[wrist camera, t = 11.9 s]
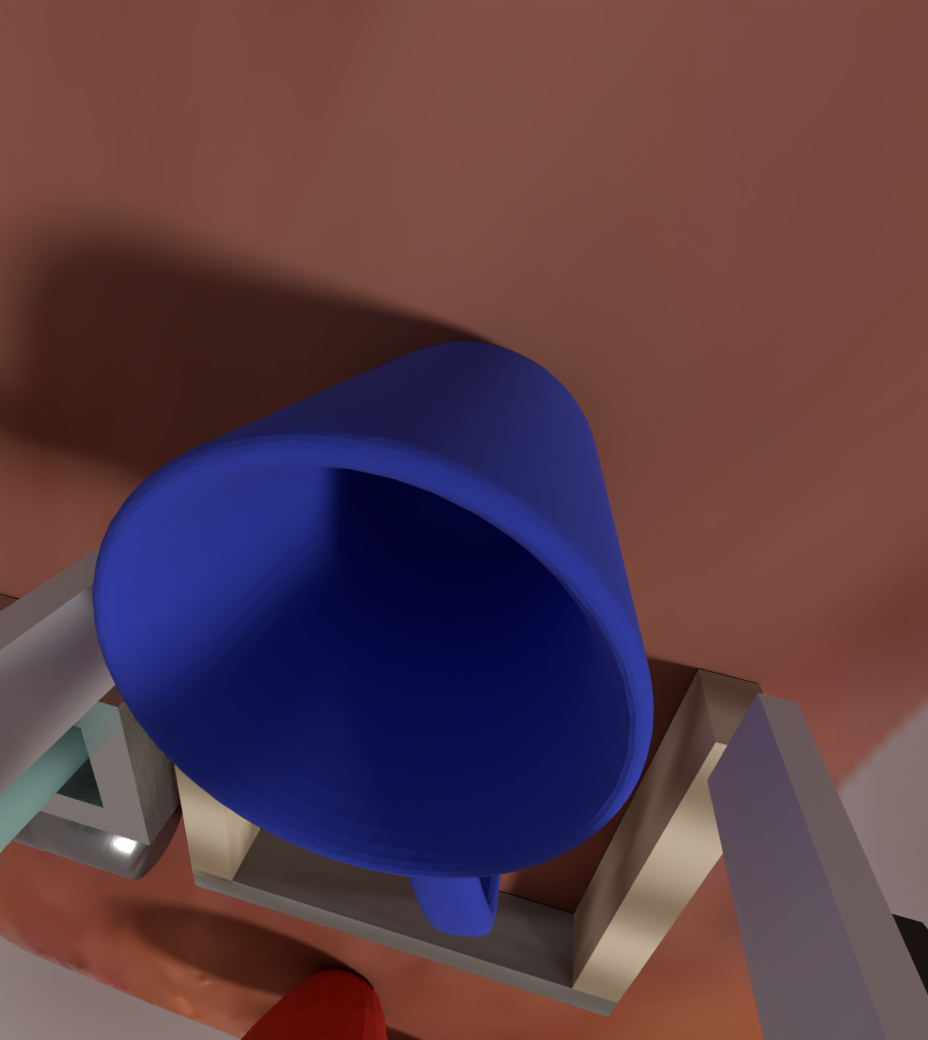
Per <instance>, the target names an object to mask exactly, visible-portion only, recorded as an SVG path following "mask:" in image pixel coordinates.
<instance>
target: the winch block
mask: <svg viewBox="0 0 928 1040" xmlns="http://www.w3.org/2000/svg"><path fill="white" fill-rule="evenodd" d="M17 600H19V599H16V598H12V597H8V596H5V595H1V594H0V611H2V610H3V609H5V608H6V607H8V606H10V605H11V604H13V603H14V602H16V601H17ZM73 726H76V727H79V728H81V731H82V734H83V738H84V741H85V745H86V748H87V751H88V755H89V758H88V759H87V760H86V761H85V762H84V763H83V765H82V766H81V767H80V768H79V769H78V770H77V771H76V772H75V773H74V774H73V775H72V776H71V777H70V778H69V779H68V781H67V782H66V783H65V784H64V785H63V786H62V787H61V788H60V789H59V790H58V791H57V792H56V793H55V794H54V796H53V797H52V798H51V799H50V800H49V801H48V802H47V803H46V804H45V805H44V806H43V807H42V808H41V809H40V811H39V812H38V813H37V814H36V815H35V816H34V817H33V818H32V819H31V820H30V821H29V822H28V823H27V824H26V826H25V827H24V828H23V829H22V830H21V831H20V832H19V833H18V834H17V835H16V836H15V837H14V838H13V839H12V841H15V842H18V843H21V844H24V845H27V846H30V847H33V848H36V849H39V850H43V851H46V852H49V853H52V854H55V855H58V856H61V857H64V858H67V859H70V860H74V861H77V862H80V863H83V864H86V865H89V866H92V867H95V868H98V869H101V870H105V871H108V872H111V873H114V874H117V875H120V876H123V877H126V878H129V879H132V880H137V879H139V878H141V877H143V876H144V875H146V874H147V873H148V872H149V871H150V870H151V869H152V868H153V867H154V866H155V865H156V863H157V862H158V861H159V859H160V858H161V856H162V855H163V854H164V852H165V850H166V849H167V847H168V845H169V844H170V842H171V840H172V838H173V836H174V834H175V831H176V829H177V827H178V824H179V821H180V818H181V815H182V806H181V800H180V794H179V788H178V783H177V777H176V771H175V765H174V763H173V762H172V761H171V760H170V759H169V758H168V757H167V756H166V755H165V754H164V753H163V752H162V751H161V750H160V749H159V748H158V747H157V746H156V745H155V743H154V742H153V741H152V740H151V738H150V737H149V736H148V735H147V733H146V732H145V731H144V730H143V728H142V727H141V726H140V724H139V723H138V722H137V720H136V719H135V717H134V716H133V714H132V713H131V711H130V710H129V708H128V706H127V705H126V703H125V702H124V700H123V699H122V697H121V695H120V694H119V692H118V690H117V687H116V685H114V686H113V687H112V688H111V689H110V690H109V691H108V692H107V693H106V694H105V695H104V696H103V697H102V698H101V699H100V700H99V701H98V702H97V703H96V704H95V705H93V706H92V707H91V708H90V709H89V710H88V711H87V712H86V713H85V714H84V715H83V716H82V717H81V718H80V719H79V720H78V721H77V722H76V723H75V724H74V725H73Z"/></svg>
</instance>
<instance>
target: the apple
mask: <svg viewBox="0 0 928 1040" xmlns="http://www.w3.org/2000/svg"><path fill="white" fill-rule="evenodd" d="M241 1040H387V1033H386V1025H385V1018H384V1015H383V1011H382V1008H381V1004H380V1001H379V998H378V996H377V994H376V993H375V992H374V990H373V989H372V988H371V986H370V985H369V984H367V983H366V982H365V981H364V980H363V979H361V978H360V977H358V976H356V975H355V974H353V973H351V972H348V971H346V970H343V969H335V968H333V969H328V970H323V971H320V972H317V973H315V974H313V975H312V976H310V977H308V978H307V979H305V980H304V981H302V982H301V983H300V984H298V985H297V986H295V987H294V988H293V989H292V990H290V991H289V992H288V993H287V994H286V995H285V996H284V997H283V998H282V999H281V1000H280V1001H279V1002H278V1003H277V1004H276V1005H274V1006H273V1007H272V1008H271V1009H270V1010H269V1011H268V1012H267V1013H266V1014H265V1015H264V1016H263V1017H262V1018H261V1019H260V1020H258V1021H257V1022H256V1023H255V1024H254V1025H253V1027H252V1028H251V1029H250V1030H249V1031H248V1032H247V1033H246V1035H245V1036H244V1037H243V1038H242V1039H241Z"/></svg>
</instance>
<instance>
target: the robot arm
mask: <svg viewBox="0 0 928 1040" xmlns="http://www.w3.org/2000/svg"><path fill="white" fill-rule="evenodd" d="M99 550H100V547H99V548H97V549H96V550H94V551H93V552H91V553H89V554H88V555H86V556H85V557H83V558H82V559H80V560H79V561H77V562H76V563H74V564H73V565H71V566H70V567H68V568H66V569H65V570H63V571H62V572H60V573H59V574H57V575H56V576H54V577H53V578H51V579H50V580H48V581H46V582H45V583H43V584H42V585H40V586H39V587H37V588H36V589H34V590H33V591H31V592H30V593H28V594H26V595H25V596H23V597H22V598H20V599H19V600H17V601H16V602H14V603H13V604H11V605H10V606H8V607H6V608H5V609H3V610H2V611H0V795H1V794H2V793H3V792H4V791H5V790H6V789H7V788H8V787H9V786H11V785H12V784H13V783H14V782H15V781H16V780H17V779H18V778H19V777H20V776H21V775H22V774H23V773H24V772H25V771H26V770H27V769H28V768H29V767H30V766H31V765H32V764H33V763H34V762H35V761H36V760H37V759H39V758H40V757H41V756H42V755H43V754H44V753H45V752H46V751H47V750H48V749H49V748H50V747H51V746H52V745H53V744H54V743H55V742H56V741H57V740H58V739H59V738H60V737H61V736H62V735H63V734H64V733H65V732H67V731H68V730H69V729H70V728H71V727H72V726H73V725H74V724H75V723H76V722H77V721H78V720H79V719H80V718H81V717H82V716H83V715H84V714H85V713H86V712H87V711H88V710H89V709H90V708H91V707H92V706H93V705H95V704H96V703H97V702H98V701H99V700H100V699H101V698H102V697H103V696H104V695H105V694H106V693H107V692H108V691H109V690H110V689H111V688H112V687H113V686H114V685H115V683H114V681H113V679H112V677H111V675H110V673H109V670H108V668H107V666H106V664H105V661H104V658H103V654H102V651H101V648H100V645H99V641H98V637H97V632H96V627H95V622H94V609H93V594H92V591H93V581H94V574H95V566H96V561H97V557H98V554H99ZM707 782H708V787H709V792H710V796H711V801H712V805H713V810H714V814H715V819H716V824H717V828H718V833H719V837H720V842H721V846H722V851H723V855H724V860H725V865H726V869H727V874H728V878H729V883H730V887H731V892H732V897H733V901H734V906H735V910H736V915H737V919H738V924H739V929H740V933H741V938H742V942H743V947H744V951H745V956H746V960H747V965H748V970H749V974H750V979H751V983H752V988H753V992H754V997H755V1002H756V1006H757V1011H758V1015H759V1020H760V1024H761V1029H762V1033H763V1038H764V1040H928V929H927V928H926V926H925V925H924V924H923V923H922V922H919V921H915V920H912V919H908V918H905V917H901V916H898V915H894V914H891V911H890V909H889V907H888V905H887V902H886V900H885V898H884V896H883V893H882V891H881V889H880V887H879V884H878V882H877V880H876V878H875V875H874V873H873V871H872V869H871V866H870V864H869V862H868V860H867V858H866V855H865V853H864V851H863V849H862V846H861V844H860V842H859V840H858V837H857V836H856V833H855V831H854V828H853V826H852V824H851V822H850V819H849V817H848V815H847V813H846V810H845V808H844V806H843V804H842V801H841V799H840V797H839V795H838V793H837V790H836V788H835V786H834V784H833V781H832V779H831V777H830V775H829V772H828V770H827V768H826V766H825V763H824V761H823V759H822V757H821V754H820V752H819V750H818V748H817V745H816V743H815V741H814V739H813V737H812V734H811V732H810V730H809V728H808V725H807V723H806V721H805V719H804V716H803V714H802V712H801V710H800V707H799V705H798V703H797V702H793V701H789V700H785V699H781V698H777V697H773V696H769V695H765V694H761V693H758V694H757V695H756V697H755V699H754V700H753V702H752V704H751V706H750V707H749V709H748V711H747V712H746V714H745V716H744V718H743V719H742V721H741V723H740V724H739V726H738V728H737V730H736V731H735V733H734V735H733V737H732V738H731V740H730V742H729V743H728V745H727V747H726V749H725V750H724V752H723V754H722V755H721V757H720V759H719V761H718V762H717V764H716V766H715V767H714V769H713V771H712V773H711V774H710V776H709V778H708V779H707Z"/></svg>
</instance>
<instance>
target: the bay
mask: <svg viewBox="0 0 928 1040" xmlns="http://www.w3.org/2000/svg"><path fill="white" fill-rule="evenodd" d="M758 693H761V694H763V692H762V690H761V687H760V685H759V684H755V683H751V682H748V681H744V680H740V679H736V678H732V677H728V676H724V675H720V674H716V673H712V672H708V671H704V670H700V669H698V671H697V673H696V675H695V677H694V679H693V681H692V683H691V685H690V687H689V689H688V691H687V693H686V695H685V697H684V699H683V701H682V703H681V705H680V707H679V709H678V711H677V713H676V715H675V716H674V718H673V720H672V722H671V724H670V726H669V728H668V730H667V732H666V734H665V736H664V738H663V740H662V742H661V744H660V746H659V748H658V750H657V752H656V754H655V756H654V758H653V760H652V762H651V764H650V766H649V768H648V770H647V772H646V774H645V775H644V777H643V779H642V781H641V783H640V785H639V787H638V789H637V791H636V793H635V795H634V797H633V799H632V801H631V803H630V805H629V807H628V809H627V811H626V813H625V815H624V817H623V819H622V821H621V823H620V825H619V827H618V829H617V831H616V832H615V834H614V836H613V838H612V840H611V842H610V844H609V846H608V848H607V850H606V852H605V854H604V856H603V858H602V860H601V862H600V864H599V866H598V868H597V870H596V872H595V874H594V876H593V878H592V880H591V882H590V884H589V886H588V888H587V890H586V891H585V893H584V895H583V897H582V899H581V901H580V903H579V905H578V907H577V909H576V911H575V913H574V914H572V913H568V912H565V911H562V910H558V909H555V908H552V907H549V906H545V905H542V904H539V903H535V902H532V901H529V900H526V899H522V898H519V897H516V896H512V895H509V894H506V893H502V892H499V891H498V901H497V909H496V915H495V920H494V925H493V927H492V929H491V931H489V932H488V933H487V934H486V935H483V936H479V937H469V936H459V935H449V934H446V933H444V932H441V931H438V930H436V929H435V928H434V927H433V926H431V924H430V923H429V921H428V920H427V918H426V917H425V915H424V914H423V912H422V910H421V908H420V906H419V904H418V901H417V899H416V896H415V894H414V891H413V889H412V886H411V883H410V881H409V878H408V876H401V875H395V874H390V873H384V872H378V871H373V870H369V869H364V868H360V867H357V866H353V865H350V864H346V863H343V862H339V861H336V860H333V859H330V858H327V857H324V856H322V855H319V854H316V853H314V852H311V851H309V850H306V849H303V848H301V847H298V846H296V845H293V844H291V843H289V842H287V841H285V840H283V839H281V838H279V837H277V836H275V835H273V834H271V833H269V832H267V831H265V830H263V829H261V828H259V827H258V826H256V825H254V824H252V823H251V822H249V821H247V820H245V819H244V818H242V817H241V816H239V815H238V814H236V813H235V812H233V811H232V810H230V809H229V808H227V807H226V806H224V805H223V804H221V803H220V802H218V801H217V800H216V799H214V798H213V797H212V796H211V795H209V794H208V793H207V792H205V791H204V790H203V789H202V788H200V787H199V786H198V785H197V784H195V783H194V782H193V781H192V780H191V779H190V778H188V777H187V776H186V775H185V774H184V773H183V772H182V771H181V770H180V769H179V768H178V767H177V766H176V765H175V764H174V765H175V771H176V777H177V783H178V788H179V794H180V800H181V806H182V812H183V818H184V823H185V829H186V835H187V841H188V847H189V853H190V858H191V864H192V870H193V876H194V882H195V885H197V886H200V887H203V888H206V889H209V890H213V891H216V892H219V893H222V894H225V895H228V896H231V897H234V898H238V899H241V900H244V901H247V902H250V903H253V904H256V905H259V906H263V907H266V908H269V909H272V910H275V911H278V912H281V913H284V914H288V915H291V916H294V917H297V918H300V919H303V920H306V921H309V922H313V923H316V924H319V925H322V926H325V927H328V928H331V929H334V930H338V931H341V932H344V933H347V934H350V935H353V936H356V937H359V938H363V939H366V940H369V941H372V942H375V943H378V944H381V945H384V946H388V947H391V948H394V949H397V950H400V951H403V952H406V953H410V954H413V955H416V956H419V957H422V958H425V959H428V960H431V961H435V962H438V963H441V964H444V965H447V966H450V967H453V968H456V969H460V970H463V971H466V972H469V973H472V974H475V975H478V976H481V977H485V978H488V979H491V980H494V981H497V982H500V983H503V984H506V985H510V986H513V987H516V988H519V989H522V990H525V991H528V992H531V993H535V994H538V995H541V996H544V997H547V998H550V999H553V1000H556V1001H560V1002H563V1003H566V1004H569V1005H572V1006H575V1007H578V1008H581V1009H585V1010H588V1011H591V1012H594V1013H597V1014H600V1015H603V1016H606V1017H608V1016H609V1015H610V1013H611V1012H612V1010H613V1009H614V1007H615V1006H616V1005H617V1003H618V1002H619V1000H620V999H621V997H622V996H623V995H624V993H625V992H626V990H627V989H628V987H629V986H630V985H631V983H632V982H633V980H634V979H635V977H636V976H637V975H638V973H639V972H640V970H641V969H642V967H643V966H644V965H645V963H646V962H647V960H648V959H649V958H650V956H651V955H652V953H653V952H654V950H655V949H656V948H657V946H658V945H659V943H660V942H661V940H662V939H663V938H664V936H665V935H666V933H667V932H668V930H669V929H670V928H671V926H672V925H673V923H674V922H675V920H676V919H677V918H678V916H679V915H680V913H681V912H682V910H683V909H684V908H685V906H686V905H687V903H688V902H689V900H690V899H691V898H692V896H693V895H694V893H695V892H696V891H697V889H698V888H699V886H700V885H701V883H702V882H703V881H704V879H705V878H706V876H707V875H708V873H709V872H710V871H711V869H712V868H713V866H714V865H715V863H716V862H717V861H718V859H719V858H720V856H721V855H722V853H723V851H722V846H721V842H720V837H719V833H718V828H717V824H716V819H715V814H714V810H713V805H712V801H711V796H710V792H709V787H708V782H707V779H708V778H709V776H710V774H711V773H712V771H713V769H714V767H715V766H716V764H717V762H718V761H719V759H720V757H721V755H722V754H723V752H724V750H725V749H726V747H727V745H728V743H729V742H730V740H731V738H732V737H733V735H734V733H735V731H736V730H737V728H738V726H739V724H740V723H741V721H742V719H743V718H744V716H745V714H746V712H747V711H748V709H749V707H750V706H751V704H752V702H753V700H754V699H755V697H756V695H757V694H758Z"/></svg>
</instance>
